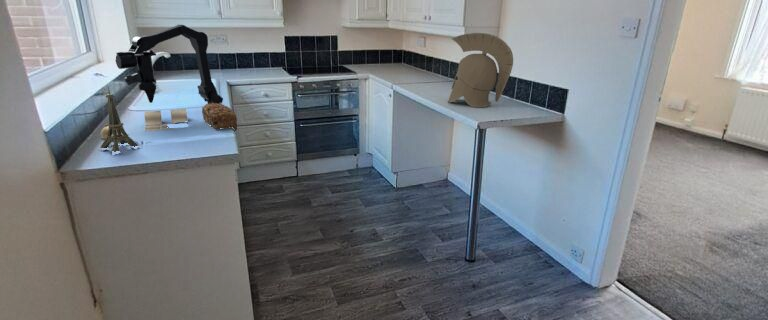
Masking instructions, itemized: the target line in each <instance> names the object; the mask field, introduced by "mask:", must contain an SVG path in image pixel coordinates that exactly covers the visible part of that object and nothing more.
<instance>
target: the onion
mask: <svg viewBox="0 0 768 320" xmlns="http://www.w3.org/2000/svg"><path fill="white" fill-rule="evenodd" d="M107 124H108V123H104V127H103V128H102V129H101V131H100V137H101V139H102V140H106V138H107V136H106V135H108V131H109V126H107ZM116 131H117V129H116ZM120 131H121V130H120ZM121 133H122V132H121ZM112 134H113V130H112Z"/></svg>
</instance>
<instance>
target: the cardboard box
mask: <svg viewBox="0 0 768 320" xmlns="http://www.w3.org/2000/svg"><path fill="white" fill-rule="evenodd" d="M167 124H168V123H164V124H163V123H162V124H160V125H148V126H145V127H144V132H154V131H155V132H156V131H167V130H174V128H169V127H168V126H167ZM167 127H168V128H167Z"/></svg>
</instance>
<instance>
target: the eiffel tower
mask: <svg viewBox="0 0 768 320" xmlns="http://www.w3.org/2000/svg"><path fill="white" fill-rule="evenodd" d="M107 85H108V82H107ZM107 89H108V90H107V91H108V93H107V94H105V98H106V99H107V105H108V106H107V107H108V123H106V124H107V125H106V126H109V131H108V135H106V136H107V138H106V139H104V141H103V143H102V144H101V145H100V148H107V147H108V148H109V147H110V146H111V143H113V146H112V149H111V152H112V151H114V152H116V151H120V152H121V150H120V145H118V144H120V143H121V144H124V143H128V144H129V145H128V146H130V147H131V146H134V147H135V146H139V144H138V143H137V142H136V141H135V140H133V139H132V138H131V137H130V136H129V134H128V133H127V132H126V130H125V128H124V125H125V124H124V122H121V119H120V117H119V116H120V115H119V113H118V109H117V107H116V104H115V100H114V97H115V95H114V93H111V91H110V87H109V86H107ZM116 129H117V131H116ZM112 130H113V134H112ZM120 130H121V131H120ZM121 132H122V133H121ZM100 148H99V149H100Z"/></svg>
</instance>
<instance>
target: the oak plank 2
mask: <svg viewBox="0 0 768 320" xmlns="http://www.w3.org/2000/svg"><path fill="white" fill-rule="evenodd" d="M187 114H188V112H187V108H178V109H170V115H171V116H170V117H171V124H175V123H176V122H184V123H186V122H185V121H188V122H189V119H188V118H189V117H188V115H187Z"/></svg>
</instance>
